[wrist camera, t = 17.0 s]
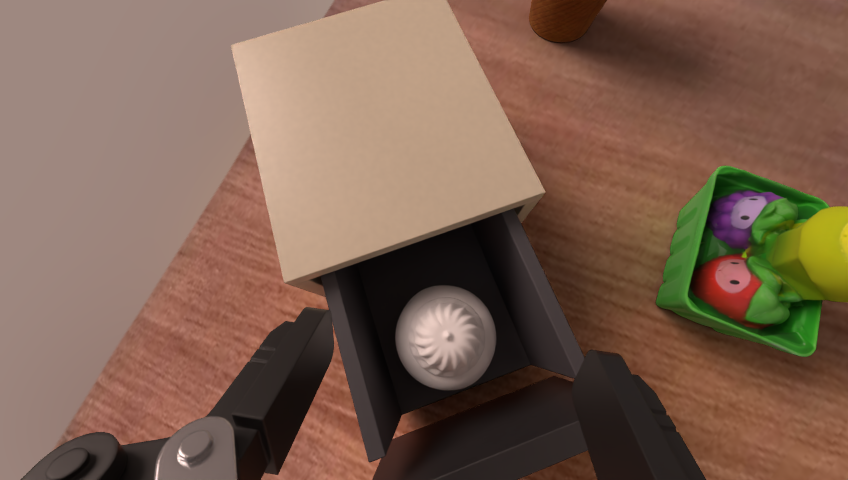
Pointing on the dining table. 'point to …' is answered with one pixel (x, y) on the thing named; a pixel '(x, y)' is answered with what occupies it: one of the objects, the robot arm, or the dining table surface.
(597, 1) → the disposable coffee cup
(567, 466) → the dining table surface
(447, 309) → the muffin
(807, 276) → the fruit basket
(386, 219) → the cabinet
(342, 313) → the pulled-out nightstand drawer
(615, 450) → the robot arm
